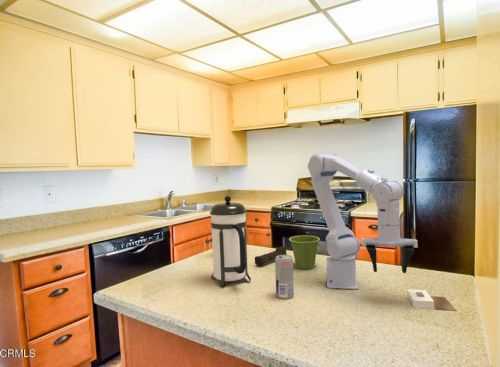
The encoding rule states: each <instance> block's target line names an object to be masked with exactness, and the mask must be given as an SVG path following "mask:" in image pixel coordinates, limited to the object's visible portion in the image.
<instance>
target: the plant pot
mask: <svg viewBox="0 0 500 367" xmlns="http://www.w3.org/2000/svg"><path fill="white" fill-rule="evenodd" d="M288 240H289V242H290V244H291V247H292V252H293V258H294V262H295V267H296V268H297V269H301V270H310V269H313V268H315V266H316V258H317V251H318V246H319V241H320V240H321V239H320V237H318V236H316V235H303V234H302V235H295V236H294V235H293V236H290V237H288Z"/></svg>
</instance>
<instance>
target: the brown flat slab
mask: <svg viewBox="0 0 500 367" xmlns="http://www.w3.org/2000/svg"><path fill="white" fill-rule="evenodd" d="M430 297H431V298H432V299H433V301H434V310H437V311H438V310H439V311H449V312H450V311H452V312H453V311H455V312H457V309H456V307H454V305H453V304H452V303H451V302H450V301H449V300H448V299H447V297H446V296H435V295H434V296H433V295H430Z"/></svg>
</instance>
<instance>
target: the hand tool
mask: <svg viewBox="0 0 500 367" xmlns="http://www.w3.org/2000/svg"><path fill="white" fill-rule="evenodd" d="M278 255H288V254H287V249H286V246H280V247H277V248H275V250H274V251H271V252H268V253H264V254H262V255H258V256H257V255H256V256H254V264H255V265H256V266H257V267H261V266H263V265H265V264H266V263H268V262H272V261H275V259H276V256H278Z"/></svg>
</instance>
